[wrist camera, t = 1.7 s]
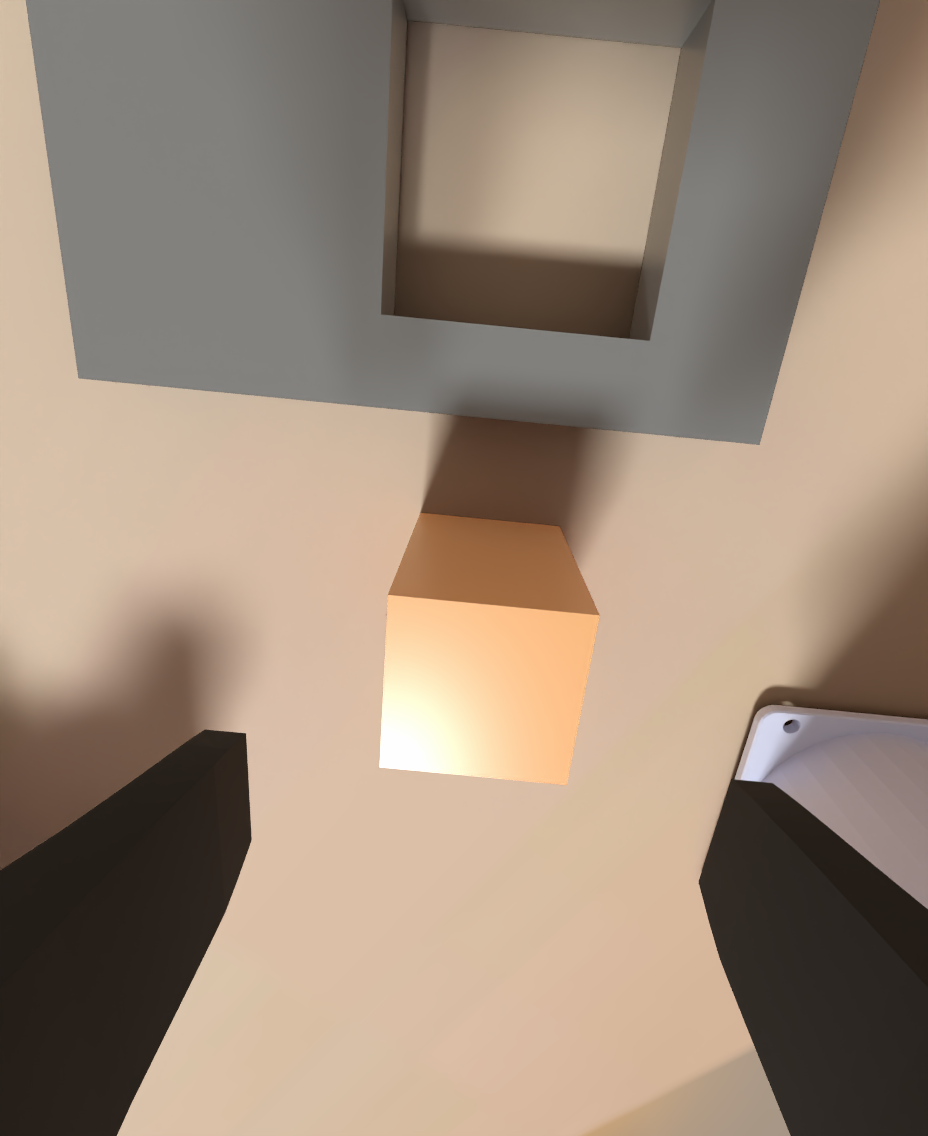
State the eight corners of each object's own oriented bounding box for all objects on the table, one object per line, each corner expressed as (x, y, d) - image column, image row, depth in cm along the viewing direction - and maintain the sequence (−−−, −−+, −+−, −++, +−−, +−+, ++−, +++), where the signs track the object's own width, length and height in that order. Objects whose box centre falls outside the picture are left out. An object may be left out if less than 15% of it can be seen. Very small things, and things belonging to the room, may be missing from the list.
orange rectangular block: (559, 525, 16) (599, 615, 11) (540, 648, 18) (566, 785, 12) (420, 512, 16) (387, 595, 11) (412, 636, 18) (379, 766, 12)
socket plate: (882, -196, 11) (964, -309, 9) (725, 433, 15) (759, 444, 13) (55, -282, 11) (-32, -413, 9) (128, 375, 15) (78, 378, 13)
